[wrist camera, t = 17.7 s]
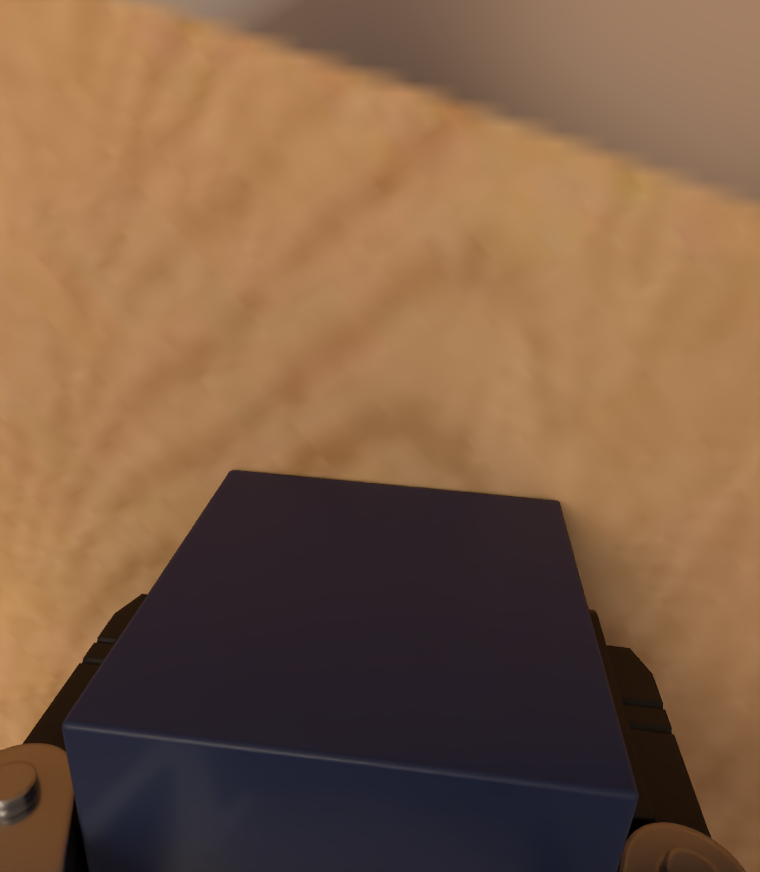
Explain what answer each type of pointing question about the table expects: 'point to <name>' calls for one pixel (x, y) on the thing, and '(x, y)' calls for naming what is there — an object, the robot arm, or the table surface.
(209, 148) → the table surface
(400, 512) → the blue block
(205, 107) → the table surface
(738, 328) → the table surface
